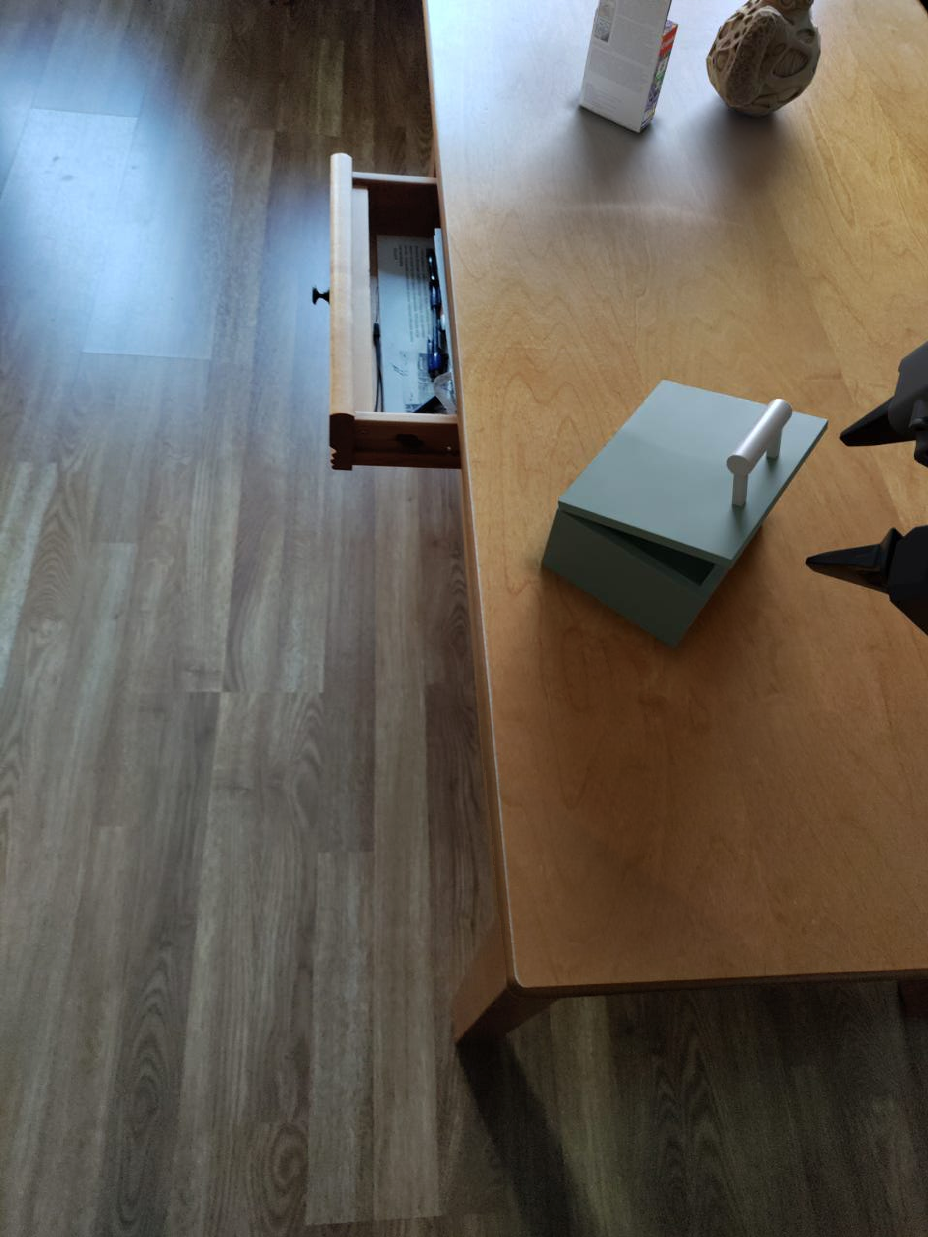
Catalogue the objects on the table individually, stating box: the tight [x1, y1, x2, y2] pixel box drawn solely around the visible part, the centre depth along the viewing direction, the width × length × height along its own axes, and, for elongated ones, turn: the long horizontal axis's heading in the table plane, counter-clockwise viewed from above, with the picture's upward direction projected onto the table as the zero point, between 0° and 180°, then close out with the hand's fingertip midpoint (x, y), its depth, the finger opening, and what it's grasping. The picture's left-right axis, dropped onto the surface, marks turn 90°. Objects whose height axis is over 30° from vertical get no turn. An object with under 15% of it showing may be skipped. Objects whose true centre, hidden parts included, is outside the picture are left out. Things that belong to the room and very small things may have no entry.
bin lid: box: [557, 379, 830, 570], centre depth 56 cm, size 12×15×5 cm
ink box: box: [577, 0, 679, 134], centre depth 88 cm, size 4×8×15 cm, turn 55°
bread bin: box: [540, 506, 731, 650], centre depth 63 cm, size 12×15×7 cm
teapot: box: [705, 0, 822, 118], centre depth 90 cm, size 21×12×15 cm, turn 154°
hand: (826, 500), depth 53 cm, fingers open, 9 cm apart
